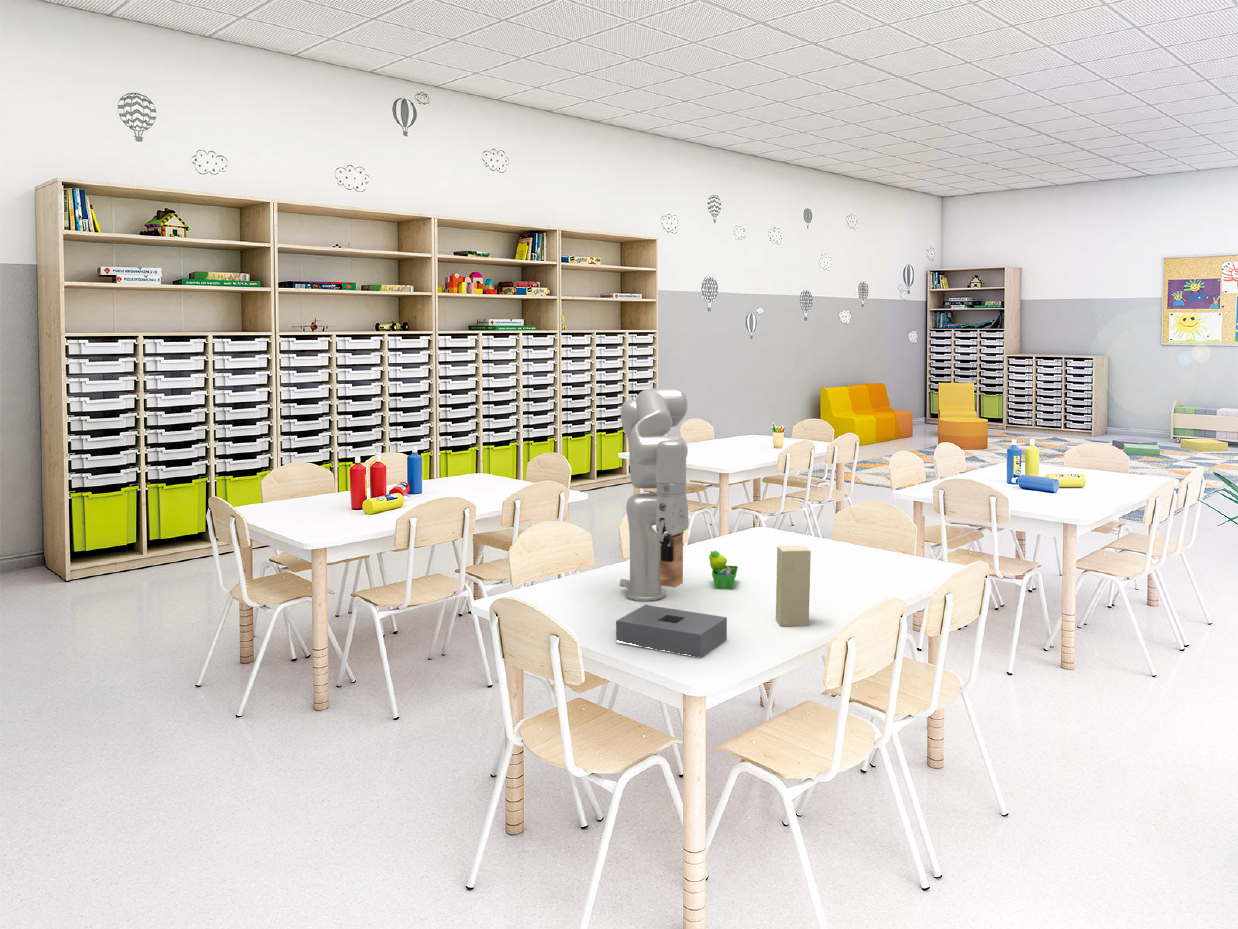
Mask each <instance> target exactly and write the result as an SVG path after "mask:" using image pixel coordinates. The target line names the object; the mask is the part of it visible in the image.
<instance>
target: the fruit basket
mask: <svg viewBox="0 0 1238 929" xmlns="http://www.w3.org/2000/svg"><path fill="white" fill-rule="evenodd" d="M708 558H709V565H710V568H711V569H712V571H711V576H712V579H713V583H714V587H715V589H716V590H733V587H734V583H735V579H736V576H737V573H738V570H739V566H737V565H727V562H728V559H727V558H726V557H725V556H724V555H722V554H721V553H720V552H719V551H717V550H711V551H710V554H709V555H708Z"/></svg>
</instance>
